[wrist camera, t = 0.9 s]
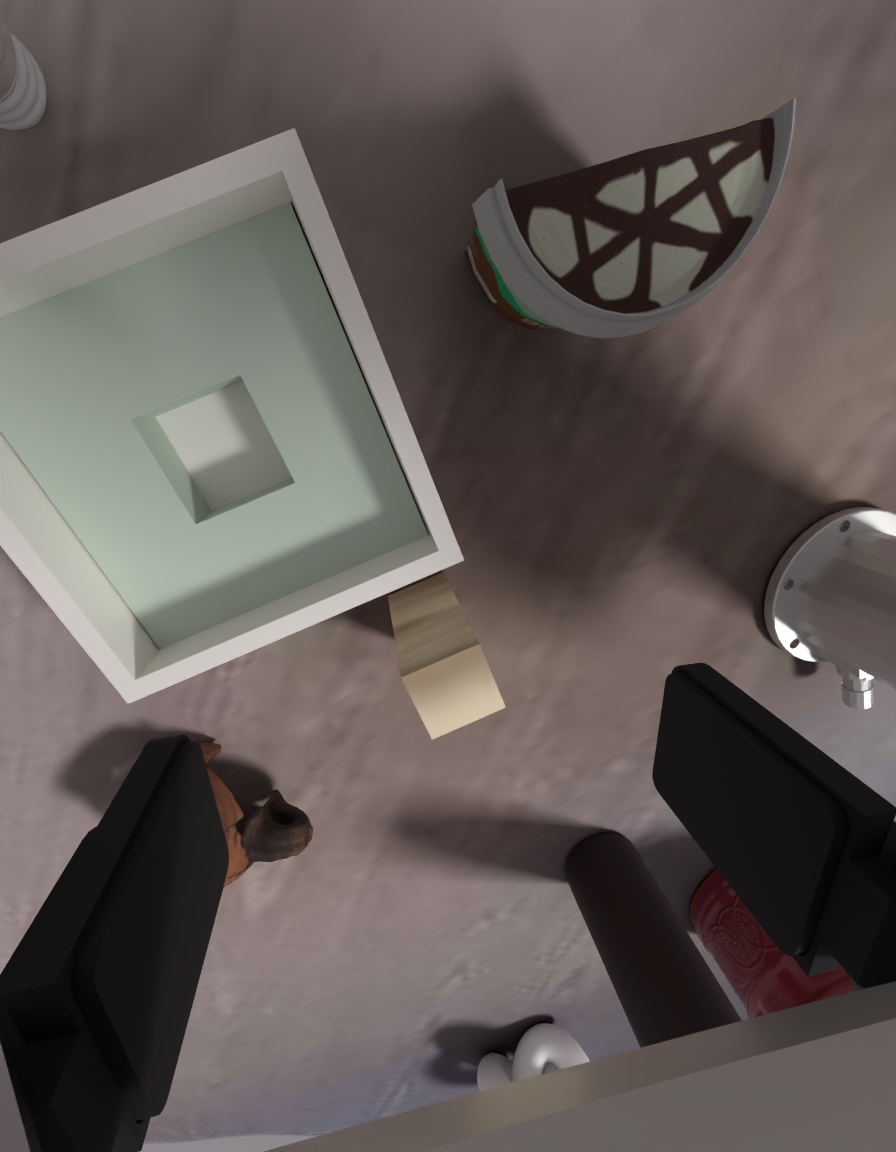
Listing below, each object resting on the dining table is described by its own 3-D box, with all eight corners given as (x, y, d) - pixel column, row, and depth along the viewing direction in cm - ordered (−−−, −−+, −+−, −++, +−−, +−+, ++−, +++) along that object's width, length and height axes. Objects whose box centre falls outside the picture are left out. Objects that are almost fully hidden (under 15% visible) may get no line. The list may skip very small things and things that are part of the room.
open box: (441, 525, 31) (464, 560, 24) (176, 638, 30) (128, 703, 24) (310, 200, 24) (294, 127, 17) (-36, 337, 23) (-185, 315, 17)
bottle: (644, 833, 44) (850, 1145, 26) (614, 887, 46) (786, 1214, 28) (580, 826, 43) (753, 1156, 24) (551, 883, 44) (691, 1229, 26)
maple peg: (464, 621, 34) (505, 707, 24) (410, 644, 33) (432, 739, 24) (443, 572, 32) (479, 643, 23) (387, 596, 32) (400, 677, 23)
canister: (763, 936, 54) (940, 1170, 37) (666, 935, 50) (814, 1192, 34) (821, 847, 50) (1046, 1065, 34) (720, 840, 47) (916, 1078, 30)
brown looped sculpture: (177, 856, 37) (86, 922, 29) (183, 728, 38) (97, 756, 30) (331, 862, 36) (283, 932, 27) (333, 730, 37) (287, 759, 28)
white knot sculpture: (557, 992, 51) (597, 1109, 42) (592, 1043, 55) (634, 1158, 47) (461, 1042, 51) (482, 1168, 42) (504, 1089, 55) (530, 1211, 47)
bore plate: (421, 522, 30) (428, 535, 27) (178, 625, 29) (159, 649, 26) (297, 224, 23) (289, 201, 21) (-14, 349, 23) (-65, 342, 20)
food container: (467, 379, 28) (522, 371, 19) (438, 258, 26) (484, 182, 17) (662, 320, 29) (806, 285, 20) (651, 198, 27) (809, 93, 17)
